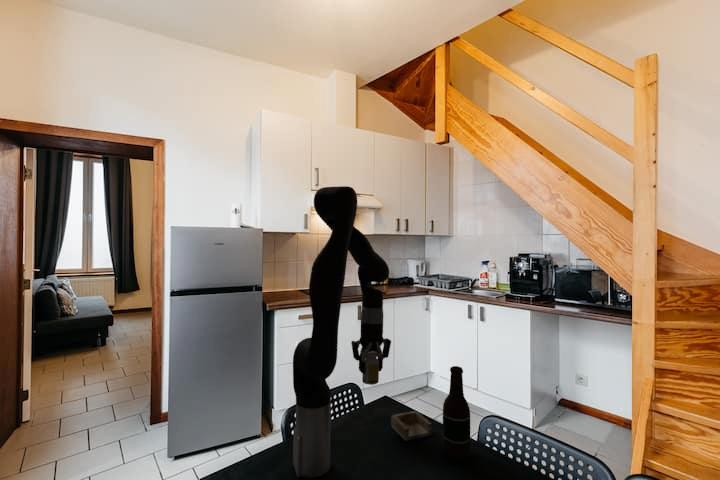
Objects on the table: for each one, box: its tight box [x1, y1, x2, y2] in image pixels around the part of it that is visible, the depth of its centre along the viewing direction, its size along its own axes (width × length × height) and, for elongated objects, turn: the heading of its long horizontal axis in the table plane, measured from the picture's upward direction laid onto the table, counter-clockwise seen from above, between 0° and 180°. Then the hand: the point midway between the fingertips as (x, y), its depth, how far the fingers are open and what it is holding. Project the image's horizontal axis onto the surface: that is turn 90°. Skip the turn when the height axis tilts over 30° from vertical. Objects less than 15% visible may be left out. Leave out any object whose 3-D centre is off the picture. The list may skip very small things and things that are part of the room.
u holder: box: [390, 410, 433, 442], centre depth 112 cm, size 9×9×4 cm
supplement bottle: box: [361, 351, 380, 386], centre depth 117 cm, size 5×5×10 cm
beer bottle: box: [442, 365, 471, 460], centre depth 100 cm, size 8×8×24 cm
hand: (370, 371), depth 117 cm, fingers closed on supplement bottle, 5 cm apart
